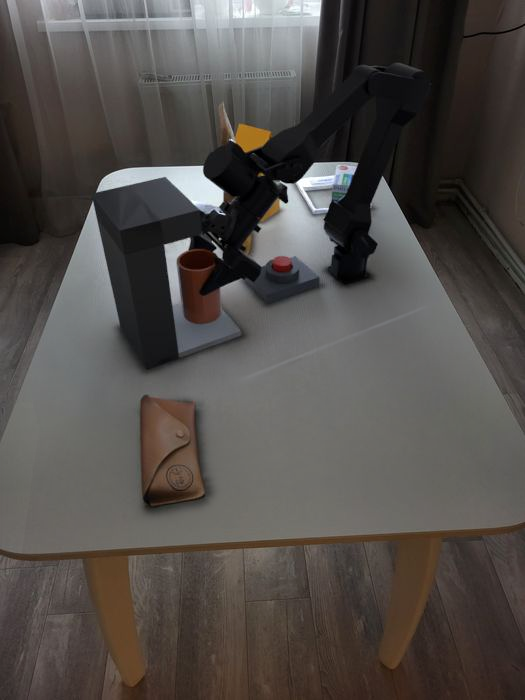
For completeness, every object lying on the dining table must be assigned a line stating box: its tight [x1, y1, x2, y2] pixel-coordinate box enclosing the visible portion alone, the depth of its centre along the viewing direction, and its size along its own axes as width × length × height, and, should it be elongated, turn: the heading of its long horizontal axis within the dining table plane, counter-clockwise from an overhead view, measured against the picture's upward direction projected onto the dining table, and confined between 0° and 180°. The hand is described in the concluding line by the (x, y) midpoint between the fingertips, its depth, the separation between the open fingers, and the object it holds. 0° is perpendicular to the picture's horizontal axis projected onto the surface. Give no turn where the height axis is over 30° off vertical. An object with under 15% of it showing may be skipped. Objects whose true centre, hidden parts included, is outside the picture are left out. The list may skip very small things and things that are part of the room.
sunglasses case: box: [139, 394, 206, 507], centre depth 79 cm, size 18×7×7 cm
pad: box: [244, 255, 321, 304], centre depth 110 cm, size 12×9×4 cm
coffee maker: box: [91, 176, 242, 371], centre depth 92 cm, size 18×13×26 cm
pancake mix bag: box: [218, 100, 253, 255], centre depth 115 cm, size 7×19×28 cm, turn 178°
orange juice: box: [234, 122, 281, 223], centre depth 128 cm, size 8×9×20 cm
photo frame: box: [295, 175, 373, 215], centre depth 141 cm, size 15×1×18 cm
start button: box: [273, 255, 292, 272], centre depth 109 cm, size 4×4×2 cm
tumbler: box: [176, 249, 222, 324], centre depth 96 cm, size 7×7×11 cm
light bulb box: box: [330, 164, 357, 203], centre depth 128 cm, size 11×7×11 cm, turn 169°
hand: (192, 283), depth 95 cm, fingers closed on tumbler, 7 cm apart
